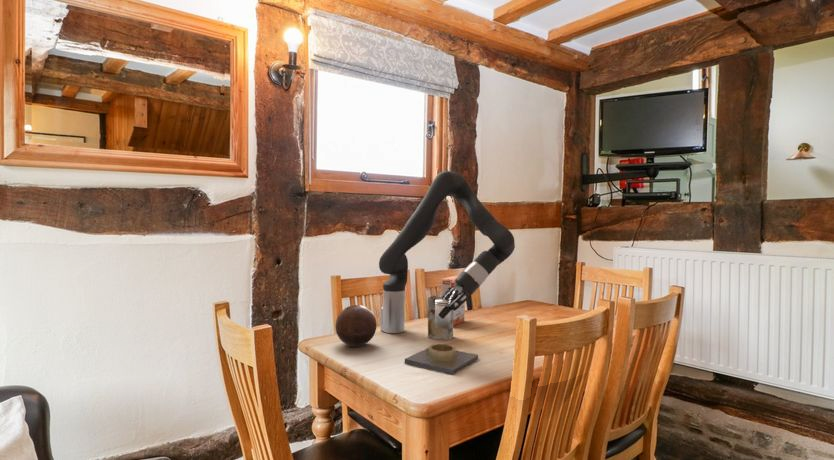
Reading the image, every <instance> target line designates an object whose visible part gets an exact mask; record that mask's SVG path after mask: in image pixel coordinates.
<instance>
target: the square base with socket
mask: <svg viewBox="0 0 834 460" xmlns="http://www.w3.org/2000/svg"><path fill="white" fill-rule="evenodd" d="M478 360H479V354H476V353H471V352H465V351H460V350H457V347H456V346H454V345H452V344H447V343H434V344H431V345H430V346H428V347H427V348H425V349H423V350H421V351H418V352H417V353H415V354H412V355H410V356H408V357H406V358H404V364H405V365H409V366H414V367H417V368H418V367H419V368H422V369H427V370H430V371H435V372H439V373H444V374H448V375H452V376H453V375H455V374H456V373H458V372H460V371H461V370H463V369H465V368H467V367H468V366H470V365H472V364H473V363H475V362H477V361H478Z"/></svg>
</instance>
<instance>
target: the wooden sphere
mask: <svg viewBox="0 0 834 460" xmlns="http://www.w3.org/2000/svg"><path fill="white" fill-rule="evenodd" d="M376 331H377V320H376V317H375V314H374V313H373V311H372V310H370V309H369V308H368V307H366V306H364V305H361V304H351V305H349V306H347V307H345V308H344V309H342V310H341V311H340V312H339V314H338V316H337V317H336V320H335V332H336V333H335V334H336V335H337V337H338V339H339V340H340V341H341V342H342V343H343V344H345V345H347V346H350V347H361V346H364V345H366V344H368V343H369V342H370V341H371V340H372V339H373V337H374V336H375V334H376Z"/></svg>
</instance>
